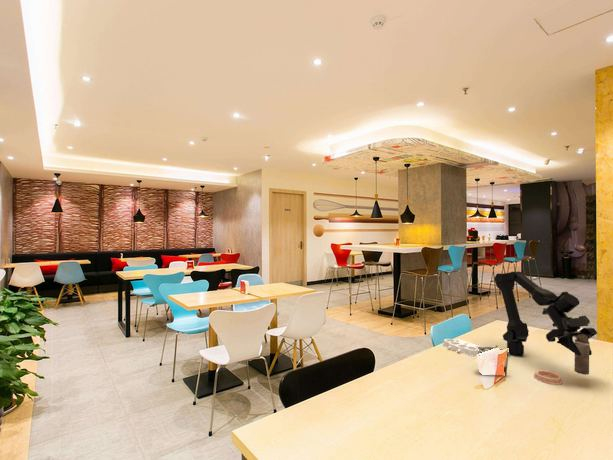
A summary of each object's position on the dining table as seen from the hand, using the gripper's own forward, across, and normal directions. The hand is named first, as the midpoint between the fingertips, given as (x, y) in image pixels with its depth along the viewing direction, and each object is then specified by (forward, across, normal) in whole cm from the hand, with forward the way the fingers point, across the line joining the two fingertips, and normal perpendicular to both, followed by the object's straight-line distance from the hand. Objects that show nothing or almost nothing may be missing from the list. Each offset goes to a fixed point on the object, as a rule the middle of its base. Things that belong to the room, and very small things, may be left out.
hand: (585, 355), depth 129 cm
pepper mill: (+4, 0, +6) cm, 7 cm away
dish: (+3, -8, +14) cm, 17 cm away
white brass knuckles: (-22, -22, +40) cm, 51 cm away
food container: (-3, -27, +21) cm, 34 cm away
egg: (-16, +36, +34) cm, 53 cm away
